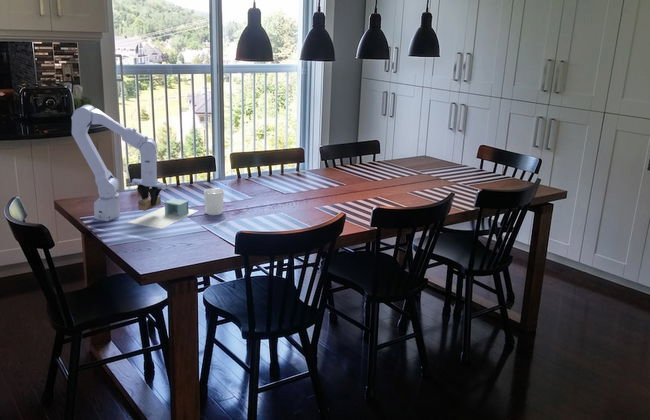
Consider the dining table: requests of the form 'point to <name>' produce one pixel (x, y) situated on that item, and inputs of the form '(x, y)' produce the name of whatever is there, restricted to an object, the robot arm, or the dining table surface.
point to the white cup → (213, 201)
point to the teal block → (176, 206)
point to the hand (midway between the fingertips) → (149, 204)
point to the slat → (148, 203)
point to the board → (160, 218)
